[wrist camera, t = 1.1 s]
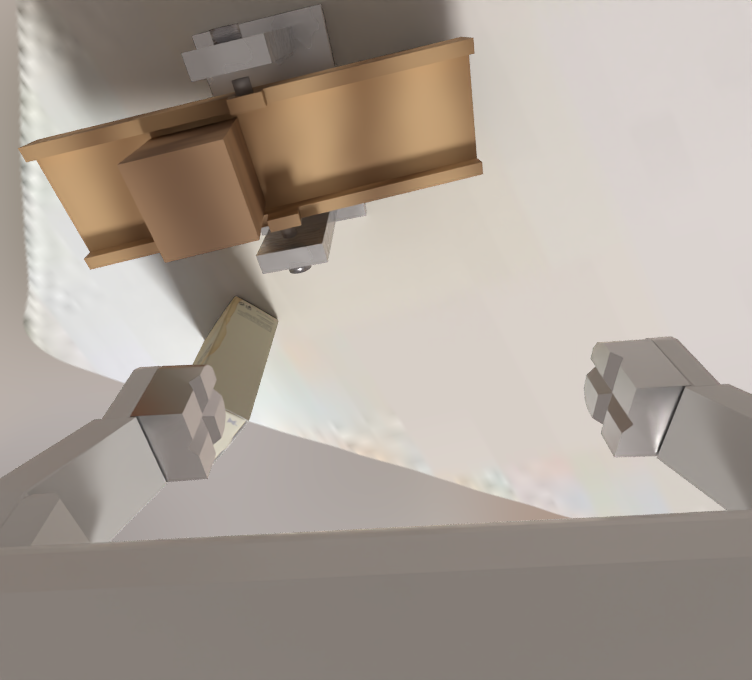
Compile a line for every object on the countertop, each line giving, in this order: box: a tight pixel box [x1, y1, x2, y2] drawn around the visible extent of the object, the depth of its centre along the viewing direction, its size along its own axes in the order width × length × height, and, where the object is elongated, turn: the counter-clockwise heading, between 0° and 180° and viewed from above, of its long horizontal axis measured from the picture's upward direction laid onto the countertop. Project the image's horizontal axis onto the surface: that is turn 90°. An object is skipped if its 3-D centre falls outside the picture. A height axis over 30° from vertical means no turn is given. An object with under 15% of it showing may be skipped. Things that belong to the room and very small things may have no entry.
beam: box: [18, 37, 483, 270], centre depth 28 cm, size 24×8×6 cm, turn 101°
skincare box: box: [193, 296, 278, 464], centre depth 37 cm, size 6×4×12 cm
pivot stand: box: [181, 4, 366, 274], centre depth 29 cm, size 8×13×9 cm, turn 11°
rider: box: [117, 117, 266, 263], centre depth 25 cm, size 5×5×6 cm
